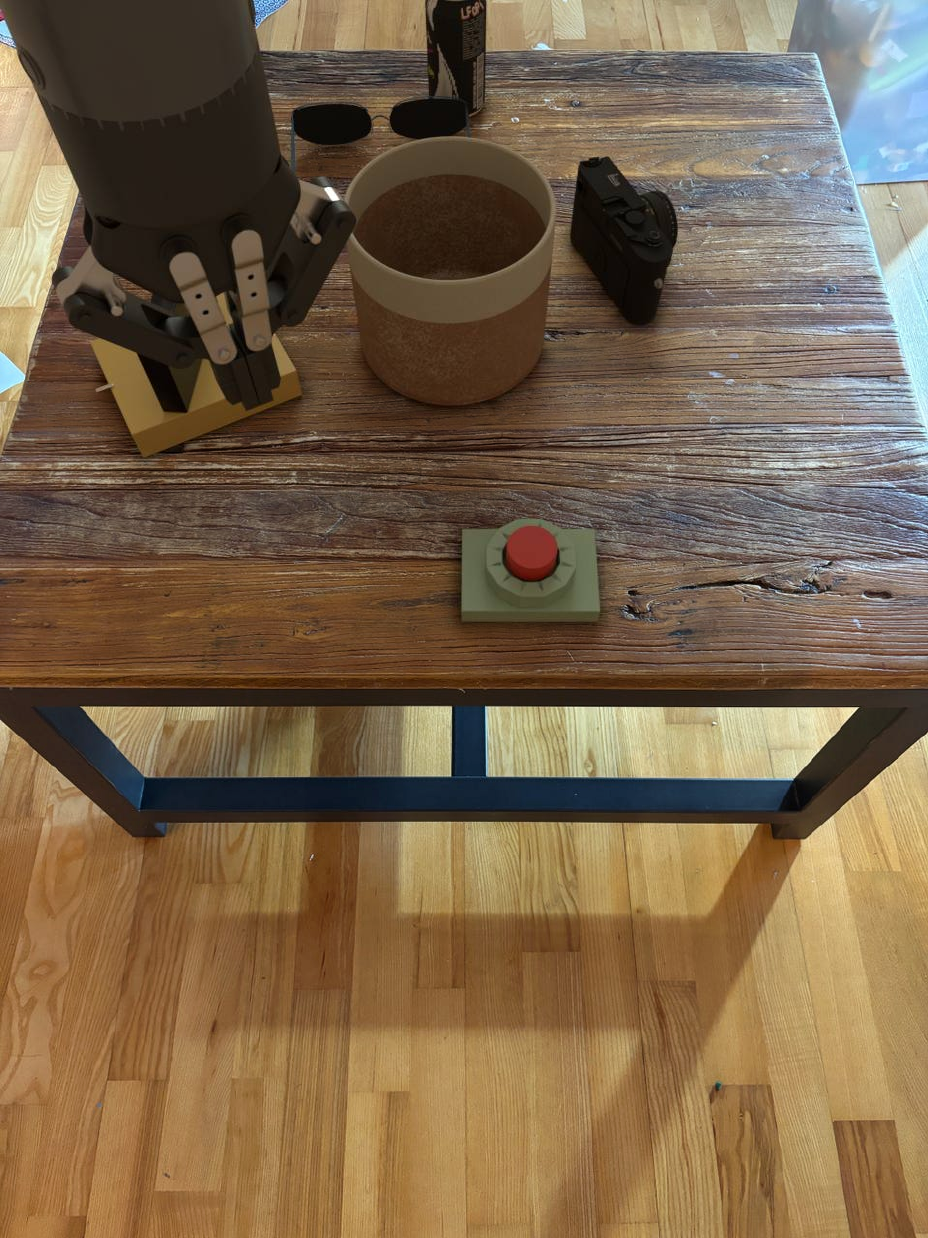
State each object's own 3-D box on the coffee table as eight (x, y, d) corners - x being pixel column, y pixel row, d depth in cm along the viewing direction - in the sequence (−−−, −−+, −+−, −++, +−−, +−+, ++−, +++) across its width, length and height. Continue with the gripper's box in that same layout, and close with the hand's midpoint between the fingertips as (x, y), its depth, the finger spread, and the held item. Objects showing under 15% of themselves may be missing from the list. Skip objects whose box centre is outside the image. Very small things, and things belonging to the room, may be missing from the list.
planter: (401, 256, 85) (390, 116, 72) (566, 299, 82) (583, 161, 70) (332, 382, 78) (306, 251, 66) (509, 433, 75) (517, 306, 63)
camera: (702, 310, 81) (724, 236, 74) (631, 335, 80) (646, 262, 73) (624, 209, 87) (638, 131, 80) (557, 231, 86) (565, 154, 79)
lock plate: (130, 463, 74) (117, 438, 72) (89, 371, 79) (75, 344, 76) (314, 390, 78) (308, 364, 75) (265, 305, 82) (258, 277, 79)
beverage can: (430, 88, 96) (426, -37, 85) (485, 90, 96) (487, -36, 85) (427, 124, 93) (422, -1, 83) (484, 125, 93) (485, 1, 82)
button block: (461, 621, 68) (461, 599, 64) (462, 540, 71) (461, 515, 68) (597, 622, 68) (603, 599, 64) (592, 540, 71) (597, 515, 68)
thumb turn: (187, 413, 73) (160, 348, 66) (162, 411, 73) (132, 346, 66) (218, 302, 78) (195, 231, 72) (195, 301, 78) (170, 230, 72)
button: (506, 580, 66) (507, 568, 64) (505, 537, 67) (506, 525, 66) (556, 581, 66) (558, 568, 64) (554, 538, 67) (556, 525, 66)
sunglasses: (468, 135, 92) (468, 92, 88) (479, 254, 87) (480, 214, 83) (296, 145, 92) (287, 102, 87) (298, 264, 87) (289, 225, 82)
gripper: (283, -71, 33) (343, 299, 48) (-90, 35, 30) (100, 391, 46) (372, 41, 30) (406, 397, 45) (-33, 170, 27) (150, 502, 43)
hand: (252, 394), depth 45 cm, fingers closed
